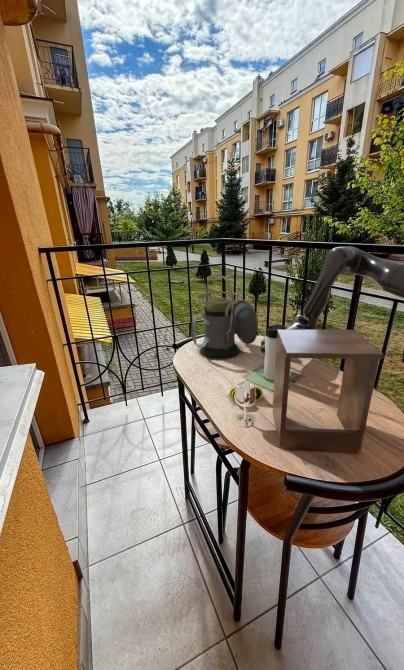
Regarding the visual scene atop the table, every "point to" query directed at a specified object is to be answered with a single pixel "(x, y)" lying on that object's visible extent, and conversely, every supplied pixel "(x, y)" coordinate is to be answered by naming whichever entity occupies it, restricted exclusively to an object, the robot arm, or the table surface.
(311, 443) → the cabinet
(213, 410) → the table surface
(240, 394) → the wineglass
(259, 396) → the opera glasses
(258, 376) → the green square mat
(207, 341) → the lantern
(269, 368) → the travel mug
